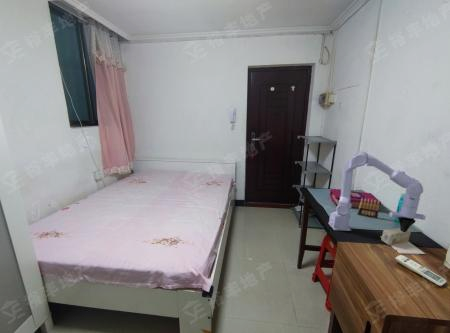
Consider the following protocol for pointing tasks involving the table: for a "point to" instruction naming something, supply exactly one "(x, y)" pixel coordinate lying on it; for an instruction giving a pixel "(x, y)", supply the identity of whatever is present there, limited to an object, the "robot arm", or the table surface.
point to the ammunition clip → (368, 208)
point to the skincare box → (395, 236)
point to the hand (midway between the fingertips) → (403, 231)
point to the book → (353, 198)
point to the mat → (406, 248)
